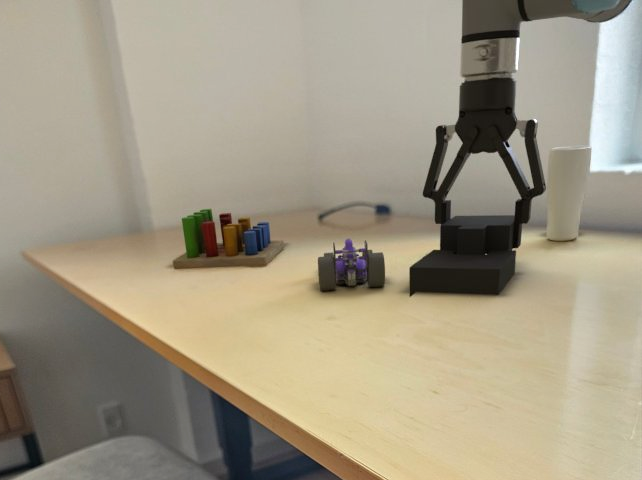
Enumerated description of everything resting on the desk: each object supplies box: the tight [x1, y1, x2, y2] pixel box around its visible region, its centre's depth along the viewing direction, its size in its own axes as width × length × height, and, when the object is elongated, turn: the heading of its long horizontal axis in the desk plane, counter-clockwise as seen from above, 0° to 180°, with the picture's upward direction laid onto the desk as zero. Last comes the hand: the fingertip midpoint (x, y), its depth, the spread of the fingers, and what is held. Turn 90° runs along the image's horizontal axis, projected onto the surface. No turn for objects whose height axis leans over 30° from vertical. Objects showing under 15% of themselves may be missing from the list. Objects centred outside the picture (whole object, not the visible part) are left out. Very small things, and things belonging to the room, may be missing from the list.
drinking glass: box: [545, 145, 593, 242], centre depth 115 cm, size 7×7×15 cm
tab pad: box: [439, 214, 515, 254], centre depth 98 cm, size 10×12×4 cm
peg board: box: [172, 208, 285, 270], centre depth 123 cm, size 18×17×9 cm
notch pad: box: [408, 249, 517, 297], centre depth 92 cm, size 12×12×4 cm
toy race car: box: [317, 238, 386, 292], centre depth 100 cm, size 10×15×6 cm, turn 179°
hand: (480, 246), depth 99 cm, fingers closed on tab pad, 10 cm apart
